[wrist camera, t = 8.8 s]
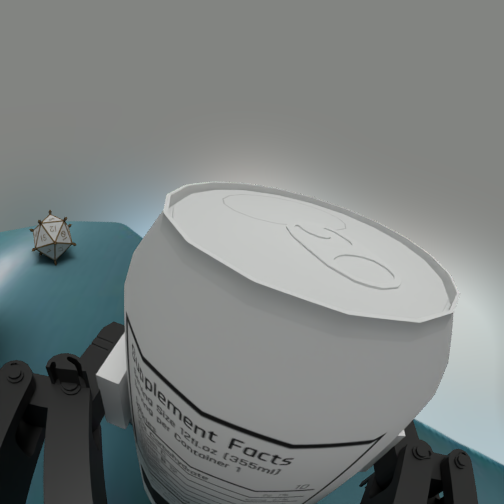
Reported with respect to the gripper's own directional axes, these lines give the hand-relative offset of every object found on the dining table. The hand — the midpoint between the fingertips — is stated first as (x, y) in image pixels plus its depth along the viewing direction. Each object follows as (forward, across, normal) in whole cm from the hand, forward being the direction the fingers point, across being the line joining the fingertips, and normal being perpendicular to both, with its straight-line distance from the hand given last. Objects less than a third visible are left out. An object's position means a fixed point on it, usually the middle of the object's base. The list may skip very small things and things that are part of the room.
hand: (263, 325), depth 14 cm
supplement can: (-5, 0, -9) cm, 10 cm away
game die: (+26, -35, -18) cm, 47 cm away
